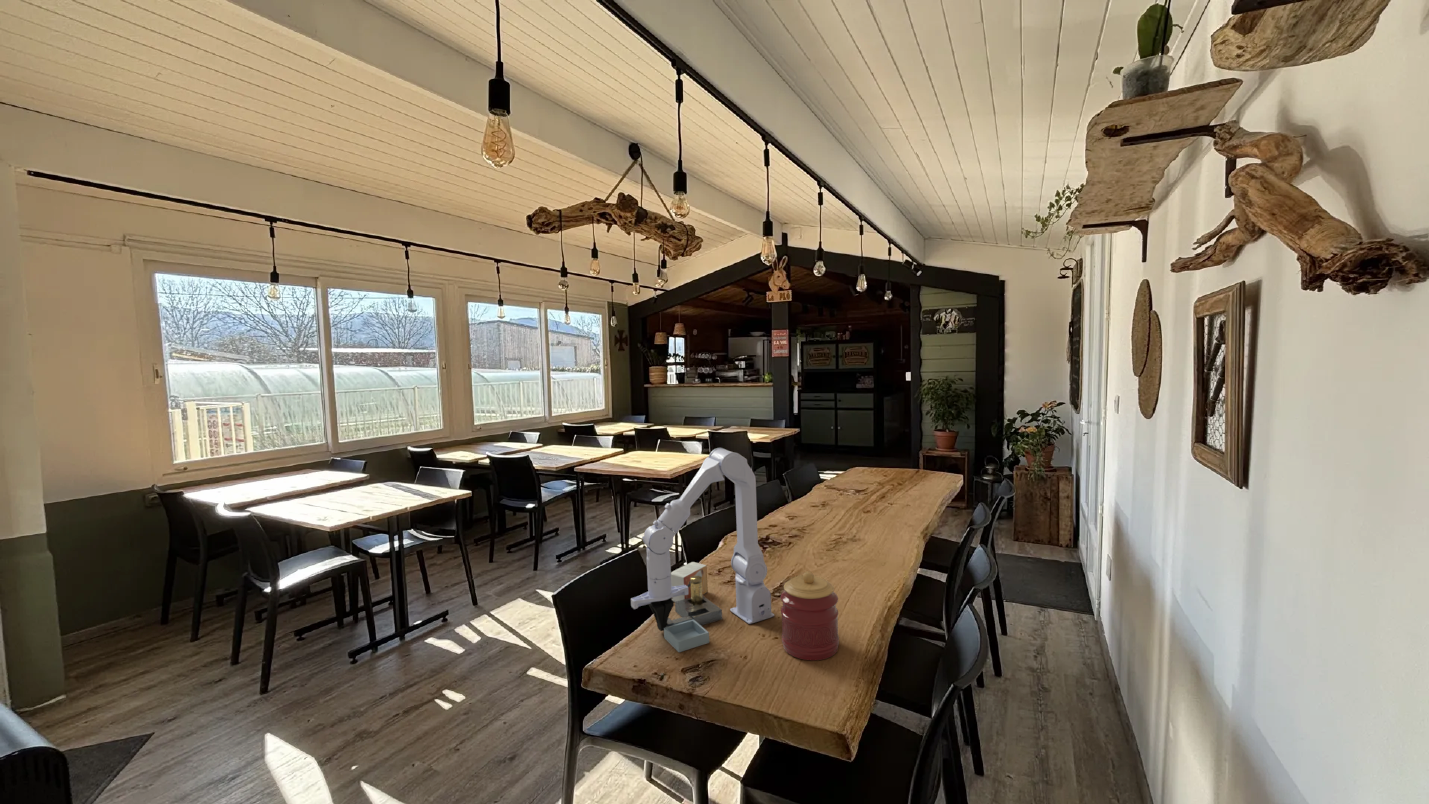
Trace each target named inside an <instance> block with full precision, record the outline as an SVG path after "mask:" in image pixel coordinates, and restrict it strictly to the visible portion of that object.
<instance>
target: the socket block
mask: <svg viewBox="0 0 1429 804" xmlns="http://www.w3.org/2000/svg"><path fill="white" fill-rule="evenodd" d="M702 600H703V603H702V604H699V605H695V606H693V605H692V604H691V598H687V599H684V600H680V601H676V602H674V606H675V612H676V613H677V614H678V615H679V616H680V617H681V618H682V617H685V616H690V617H691V618H692V620H693V619H694V620H695V621H696V622H697V623H698V624H699V625H701V626H702V627H703V626H705V625H708V624H711V623H714V622H718V621H721V620H723V609H722V608H721V607H719V606H718V605H716V604H715V603H713V602H712V601H711V600H709V599H708V598H706V596H704V594H703V595H702Z"/></svg>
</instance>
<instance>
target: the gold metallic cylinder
mask: <svg viewBox="0 0 1429 804" xmlns="http://www.w3.org/2000/svg"><path fill="white" fill-rule="evenodd" d="M690 582H691V604H692V605H693V606H695V605H699V604H702V603H703V600H702V577H701V576H692V577H690Z"/></svg>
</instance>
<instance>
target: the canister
mask: <svg viewBox="0 0 1429 804" xmlns="http://www.w3.org/2000/svg"><path fill="white" fill-rule="evenodd" d="M783 589H784V590H783V591H782V592H781V594H780V600H781V602H782V606H781V609H780V614H781V630H782V632H781V643H782V645H783V646H782V647H783V650H784V651H785V652H786V653H787V654H788V655H790V656H792V657H794V658H797V659H799V660H800V659H801V660H804V661H821V660H826V659H829V658H831V657H833V656H834V655H836V654H837V652H838V649H839V645H840V637H839V621H838V620H839V619H838V618H839V609H838V608H837V603H838V602H839V596H838V595H837V593H836V592H834V591H835V586H834V585H833V583H831V582H830V581H828V580H827V579H826V578H825V577H821V576H819V575H815V574H813V572H812V571H805V572H804V573H803V574H801V575H796V576H794V577H792V578H790V579H789V580H787V581H786V582H785V583H784V585H783Z"/></svg>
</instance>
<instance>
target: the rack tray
mask: <svg viewBox="0 0 1429 804" xmlns="http://www.w3.org/2000/svg"><path fill="white" fill-rule="evenodd" d="M663 638H664V639H665V640H666V642H667V643H669V644H670V645H671V647H673V648H674V649H675V651H676V652H678V653H681V652H684V651H688V650H690V649H693V648H697V647H700V646H703V645H706V644H709V643H710V632H709V631H708V630H707V629H706V628H704V627H703V625H702V626H701V625H699V624H698V623H697V622H696V621H695V620H694V619H693V620H689V621H686V622H682V623H679V624H676V625H672V626H669V627H665V628H664V631H663Z"/></svg>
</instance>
